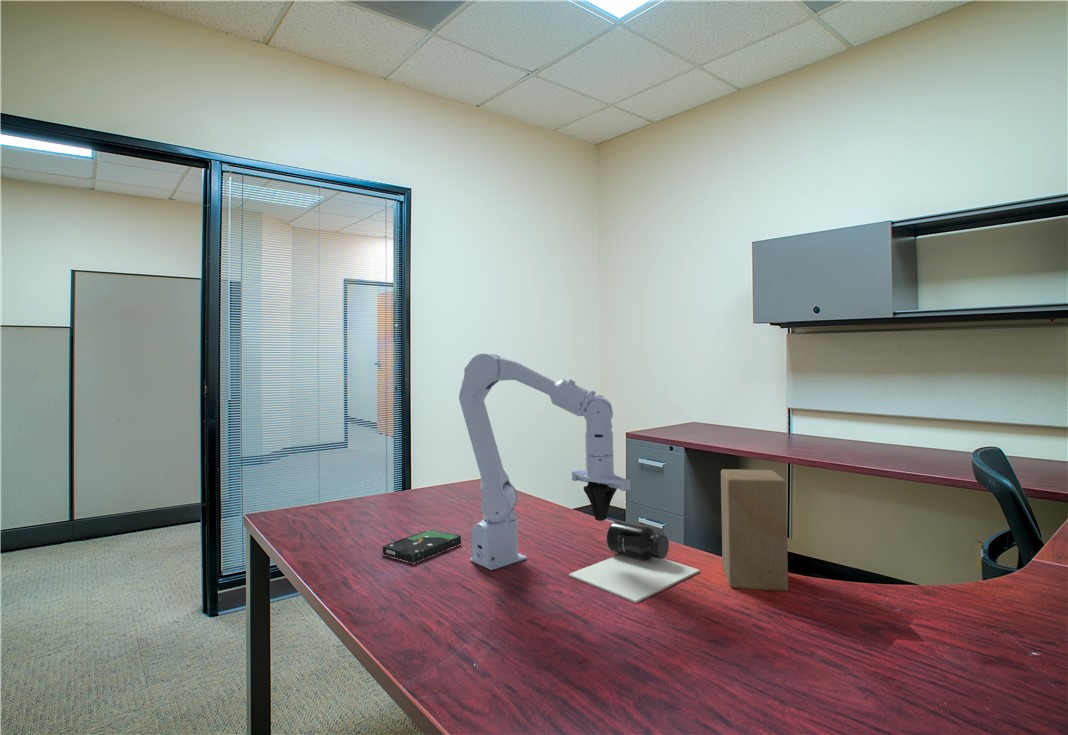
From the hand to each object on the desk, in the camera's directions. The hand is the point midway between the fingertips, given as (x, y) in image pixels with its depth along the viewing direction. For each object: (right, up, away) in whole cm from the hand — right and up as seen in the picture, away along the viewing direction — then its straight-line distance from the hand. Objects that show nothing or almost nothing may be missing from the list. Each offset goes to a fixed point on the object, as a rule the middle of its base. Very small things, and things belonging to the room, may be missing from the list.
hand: (600, 519), depth 113 cm
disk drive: (-39, -11, +10) cm, 42 cm away
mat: (+6, -9, -6) cm, 12 cm away
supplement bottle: (+4, -5, +6) cm, 8 cm away
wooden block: (+28, -9, -10) cm, 31 cm away
